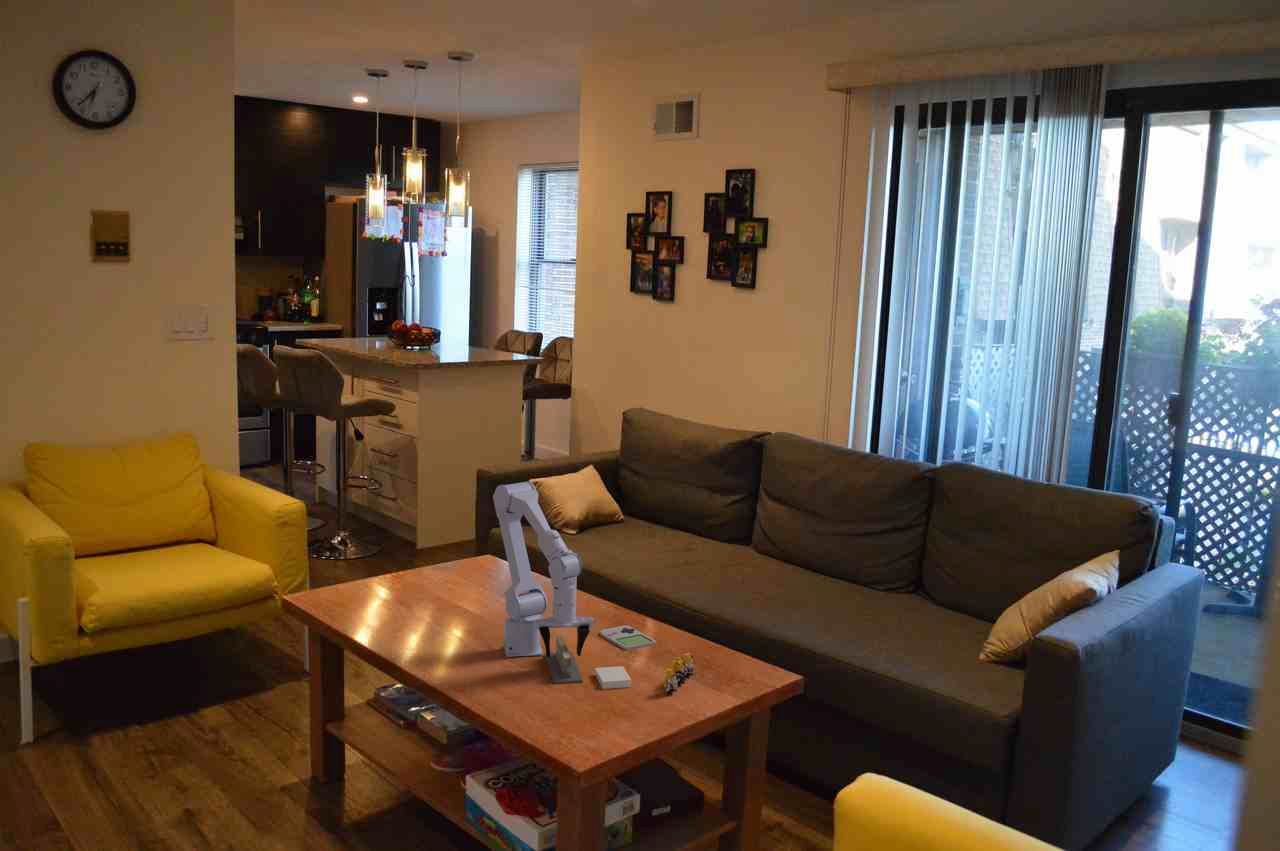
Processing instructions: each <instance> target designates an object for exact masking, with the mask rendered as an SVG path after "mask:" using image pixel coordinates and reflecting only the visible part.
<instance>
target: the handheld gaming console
mask: <svg viewBox="0 0 1280 851" xmlns="http://www.w3.org/2000/svg"><path fill="white" fill-rule="evenodd" d="M599 633H600V634H599V635H600V636H601V637H602V638H603V639H606V640H607V641H609V642H611V643H613V644H614V645H616V646H617V647H619V648H621V649H623V650H625V651H631V650H636V649H640V648H641V649H642V648H645V647H650V646H655V645H657V640H656V639H655V638H654V639H653V638H651V637H650V636H649V635H647V634H645V633H643V632H642V631H639V630H637V629H636V628H634V627H632V626H631V625H625V624H624V625H620V626H616V627H610V628H605V629H602V630H601V629H600V632H599Z"/></svg>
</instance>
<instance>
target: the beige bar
mask: <svg viewBox="0 0 1280 851" xmlns="http://www.w3.org/2000/svg"><path fill="white" fill-rule="evenodd" d="M555 643H556V644H555V652H556V656H557V659H558V662H559V664H560V667H561V670H562V673H563V676H564V678H571V656H570V653H569V652H570V651H569V648H568V646H567V643H566V641H565V638H564V636H563V635H556V636H555Z"/></svg>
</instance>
